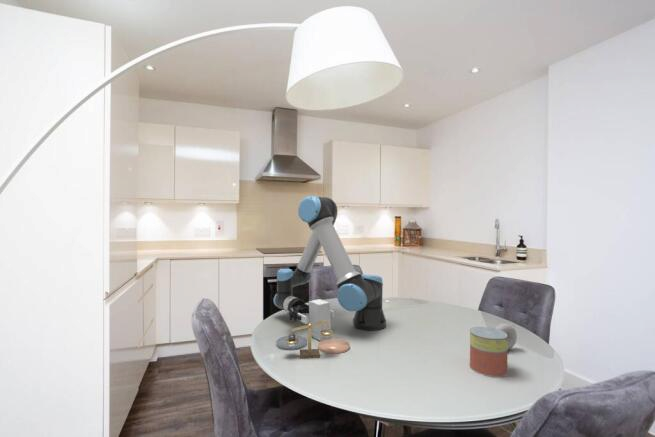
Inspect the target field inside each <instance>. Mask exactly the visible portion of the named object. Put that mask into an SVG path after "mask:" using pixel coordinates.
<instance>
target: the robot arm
mask: <svg viewBox="0 0 655 437" xmlns="http://www.w3.org/2000/svg"><path fill="white" fill-rule="evenodd" d="M297 208H298V210H297V212H298V217H299V218H300V220H301V221H302V222H304V223H307V225H308V227H309V229H310V230H311V233H310V236H309V238H308V240H307V243H306V244H305V247H304V249H303V252H302V254H301V257H300V258H299V261H298V264H297V266H296V268H295V270H293V269H291V268H280V269H278V270H277V271H276V272H277V274H276V294H275V295H274V297H273V304H274V306H276V307H277V308H278V309H280V310H283V311H285V312H286V314H287V315H288V318H289V319H288V320H289V321H292V320H293V322H298V321H299V322H301V323H303V324H305V325H308V316H306V315H305V314H309V304H308V303H305V301H304V300H303V299H300V298H298V297H295V296H294V295H293V290H294V289H293V288H295V287H297V286H301V285H305V284H307V283H309V282H310V281H311V280H312V273H311V272H312V269H313V267H314V264H315V262H316V260H317V258H318V256H319V253H320V252H321V249H323V251H324V253H325V256H326V258H327V260H328V262H329V264H330V267H331V268H332V270H333V273H334V275H335V276H336V281H337V282H336V287H337V289H338V290H337V295H336V296H337V301H338V303H339V305H340V306H341V307H342V308H343V309H344V310H346V311H349V312H354V317H353V318H352V325H353V326H354V327H355V328H356V329H360V330H365V331H379V330H384V329H385V328H386V327H387V320H386V316H385V313H384V309H383V288H384V287H383V285H384V283H383V278H382V276H379V275H373V274H361V272H358V271H356V270H355V267H354V265H353V263H352V261H351V258H350V257H349V255H348V252H347V251H346V249H345V246H344V244H343V242H342V240H341V238H340V237H339V234H338V233H337V230H336V228H335V226H334V225H335V223H336V220H337V217H338V206H337V204H336V202H335V201H334V200H333V199H332V198H330V197H326V196H325V197H322V196H316V195H310V196H306V197H304V198H303V199H301V201H300V203H299V207H297ZM330 318H333V319H334V318H335V311H334V310H332V309H330Z"/></svg>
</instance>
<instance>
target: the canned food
mask: <svg viewBox="0 0 655 437" xmlns="http://www.w3.org/2000/svg"><path fill="white" fill-rule="evenodd" d="M508 351H509V350H508V334H507V333H505V332H503V331H501V330H498V329H495V328H492V327H487V326H475V327H472V328H470V329H469V368H470V369H471V370H472V371H474V372H475V373H476V374H480V375H483V376H485V377H490V378H503V377H505V376H507V375H508V373H509V370H508Z"/></svg>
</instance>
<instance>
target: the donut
mask: <svg viewBox="0 0 655 437" xmlns="http://www.w3.org/2000/svg"><path fill="white" fill-rule="evenodd" d="M494 329H498V330H501V331H503V332H505V333H507V334H508V351H509V350H511V349H512V348H513V347H514V346H515V345H516V342H517V339H518V335H517V331H516V329H515V327H514V326H513V325H511V324H509V323H500V324H498V325H497V326H496V327H495V328H494Z"/></svg>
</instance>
